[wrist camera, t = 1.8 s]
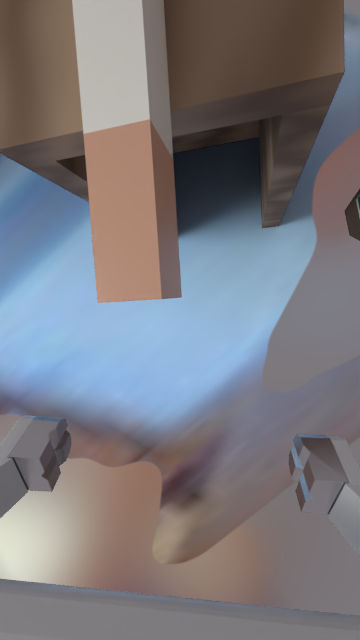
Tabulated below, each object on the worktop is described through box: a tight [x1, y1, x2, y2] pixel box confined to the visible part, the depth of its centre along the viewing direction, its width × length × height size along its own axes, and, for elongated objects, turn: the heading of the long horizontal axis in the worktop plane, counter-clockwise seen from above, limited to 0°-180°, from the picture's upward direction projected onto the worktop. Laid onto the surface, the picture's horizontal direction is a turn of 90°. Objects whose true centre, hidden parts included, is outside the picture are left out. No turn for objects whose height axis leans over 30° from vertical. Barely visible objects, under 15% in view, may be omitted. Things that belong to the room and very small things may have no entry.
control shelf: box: [0, 0, 345, 228], centre depth 25 cm, size 16×13×26 cm
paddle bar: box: [72, 0, 182, 303], centre depth 11 cm, size 2×20×3 cm, turn 4°
